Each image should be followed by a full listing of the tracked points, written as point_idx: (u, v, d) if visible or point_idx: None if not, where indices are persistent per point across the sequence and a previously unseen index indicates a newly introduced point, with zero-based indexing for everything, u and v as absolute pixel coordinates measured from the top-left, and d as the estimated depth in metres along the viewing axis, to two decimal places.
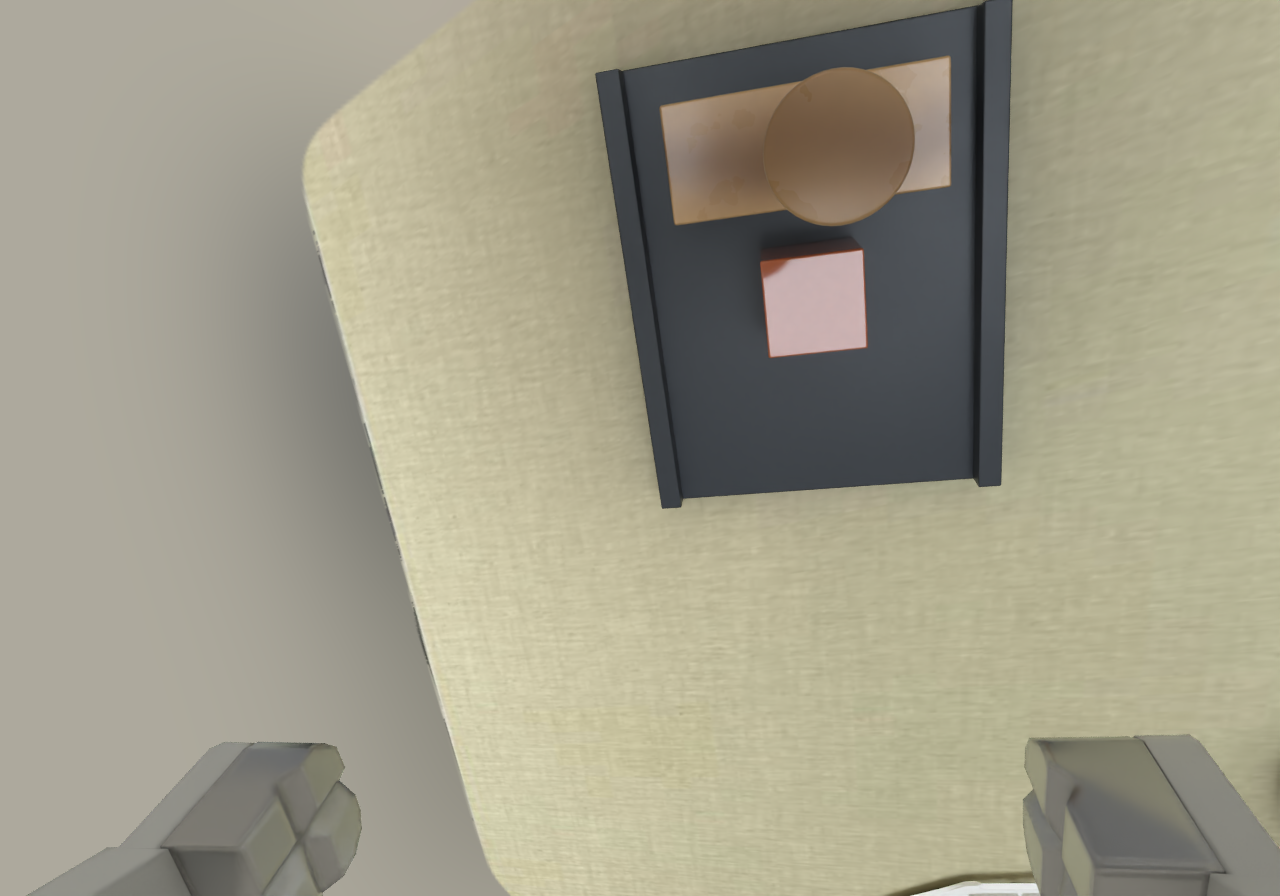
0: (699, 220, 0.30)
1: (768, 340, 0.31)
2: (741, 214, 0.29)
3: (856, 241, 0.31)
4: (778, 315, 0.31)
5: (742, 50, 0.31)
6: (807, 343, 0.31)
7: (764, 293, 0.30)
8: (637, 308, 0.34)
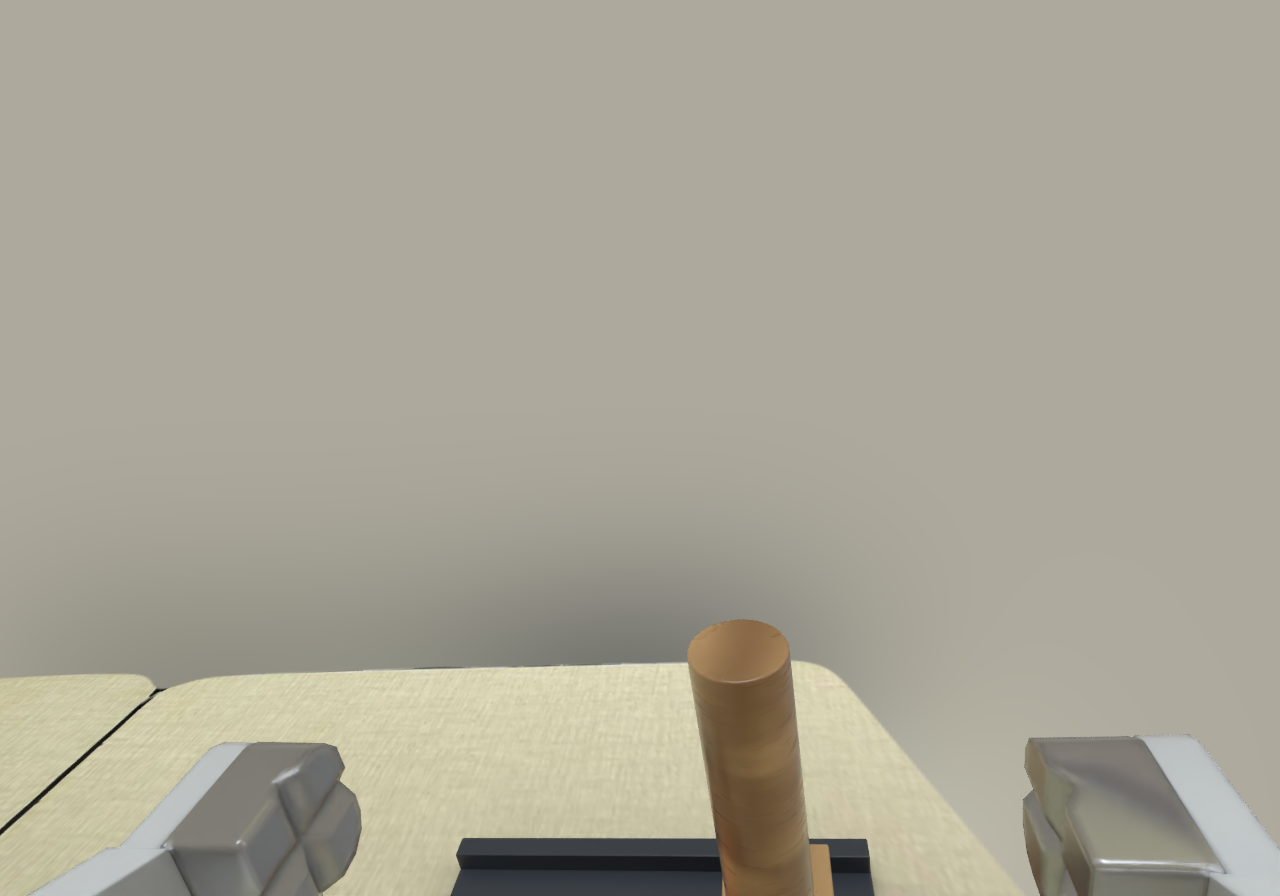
0: None
1: None
2: None
3: None
4: None
5: None
6: None
7: None
8: (657, 843, 0.36)
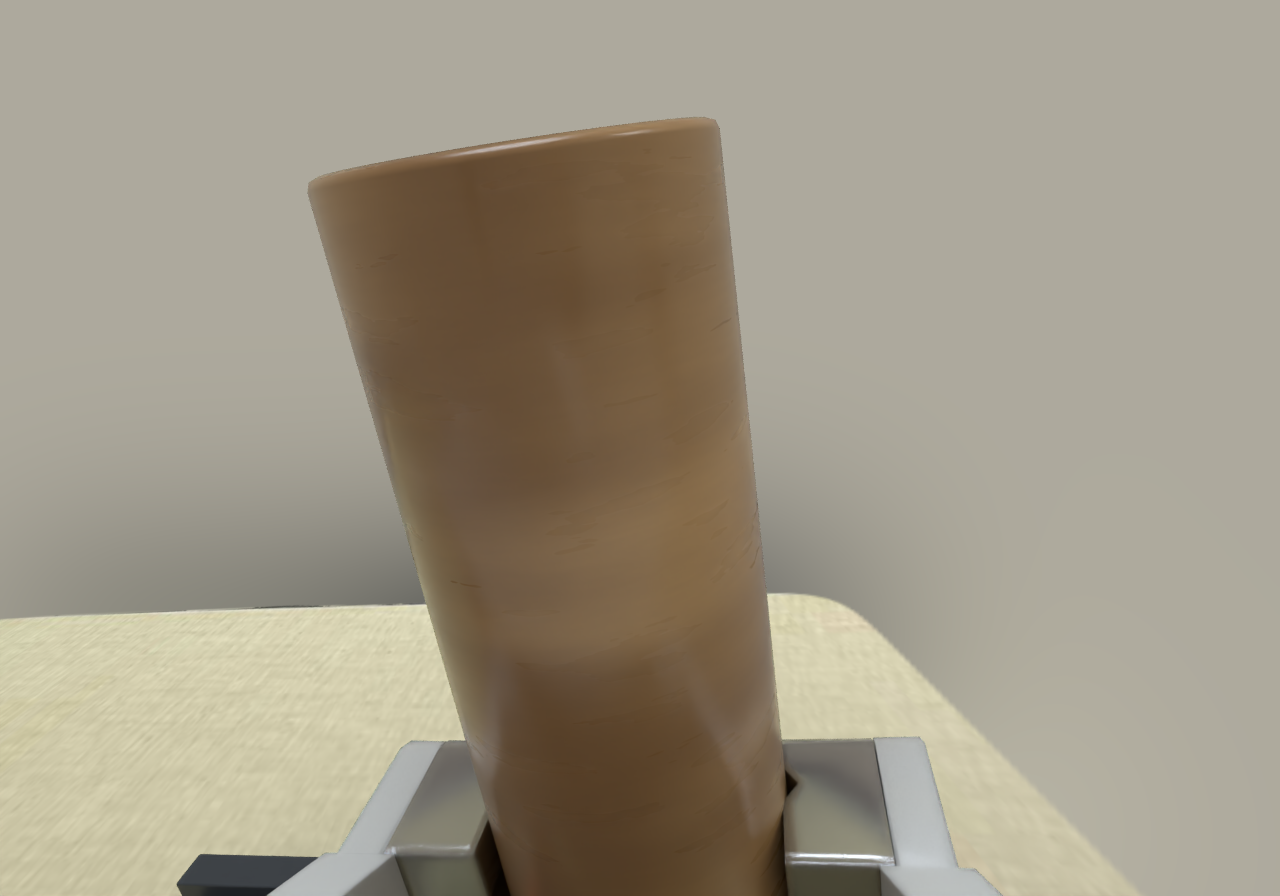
0: None
1: None
2: None
3: None
4: None
5: None
6: None
7: None
8: None
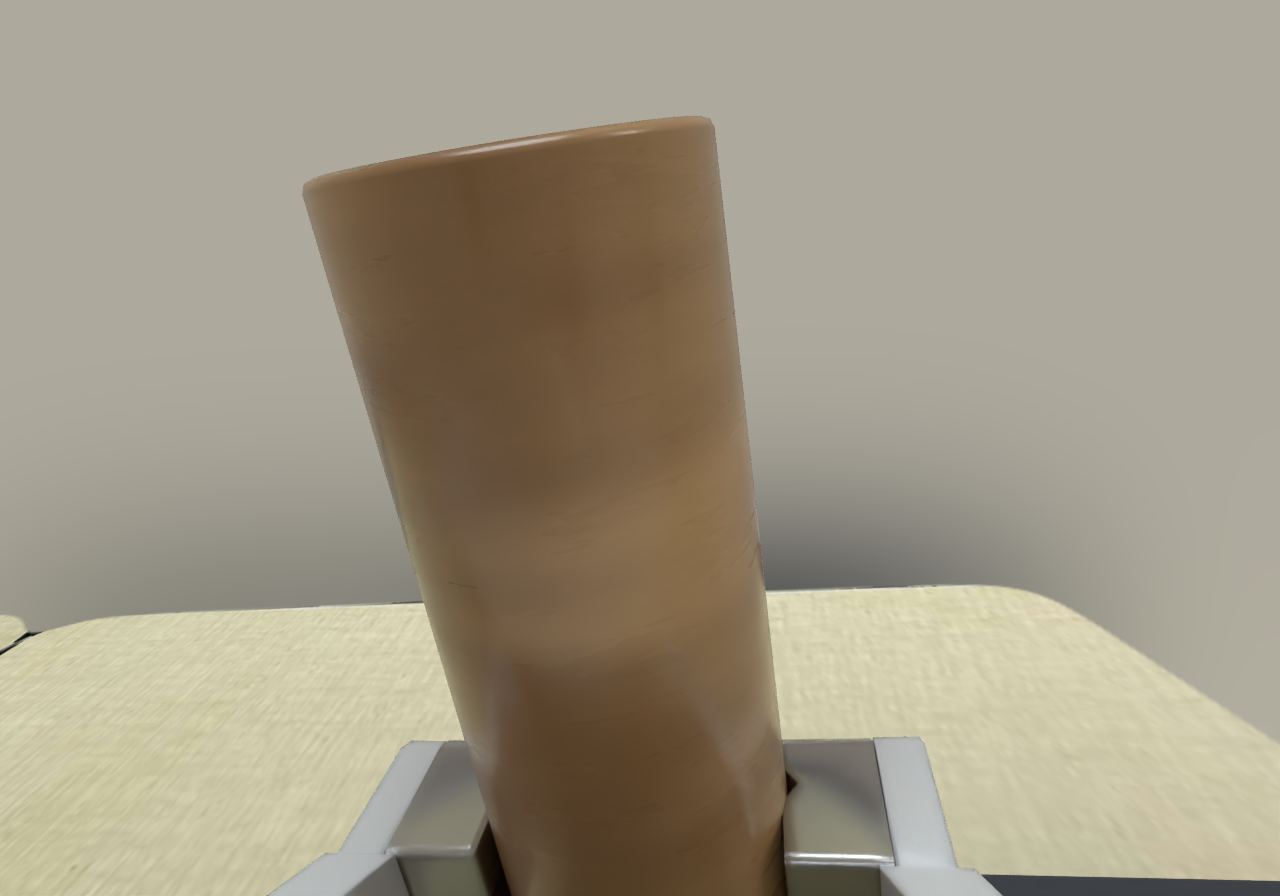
0: None
1: None
2: None
3: None
4: None
5: None
6: None
7: None
8: None
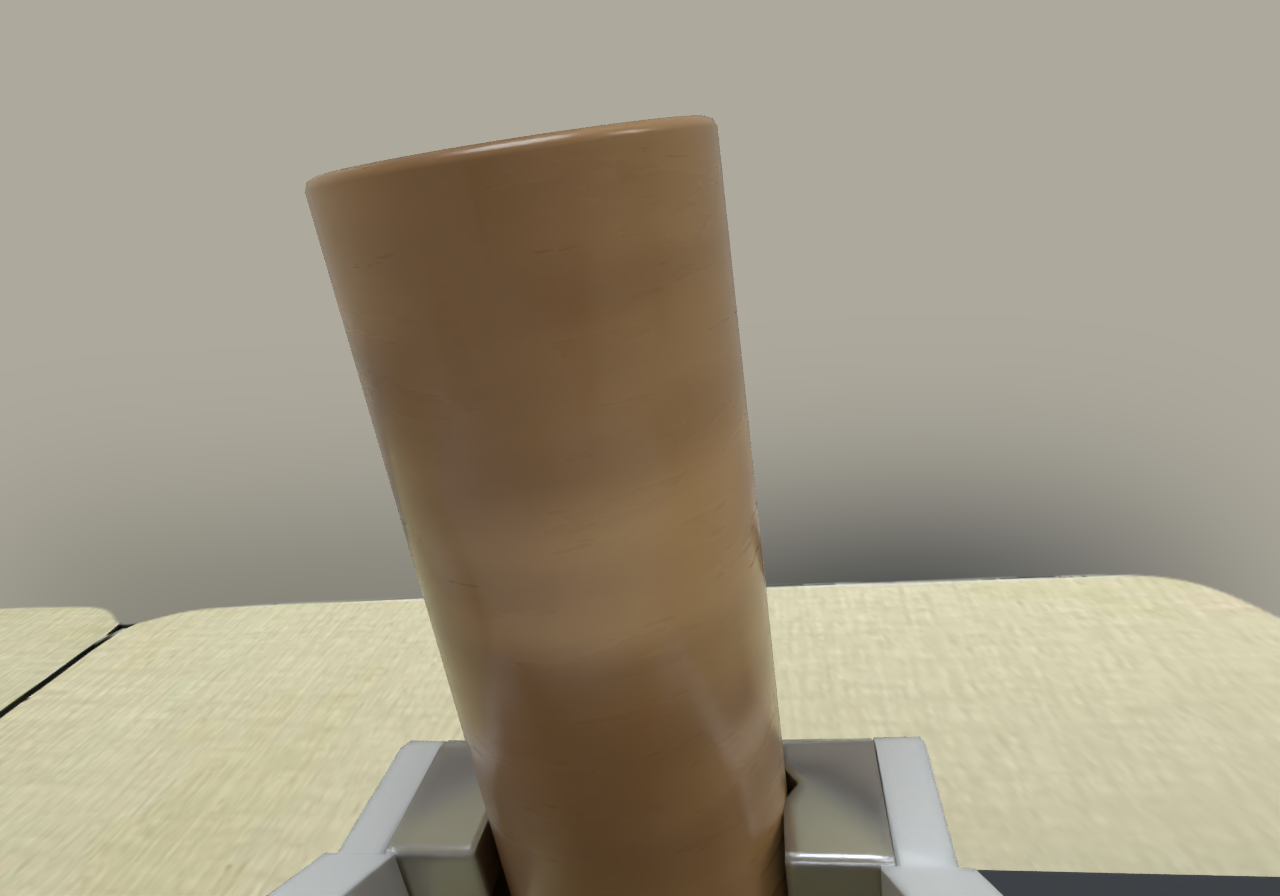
0: None
1: None
2: None
3: None
4: None
5: None
6: None
7: None
8: (1109, 883, 0.17)
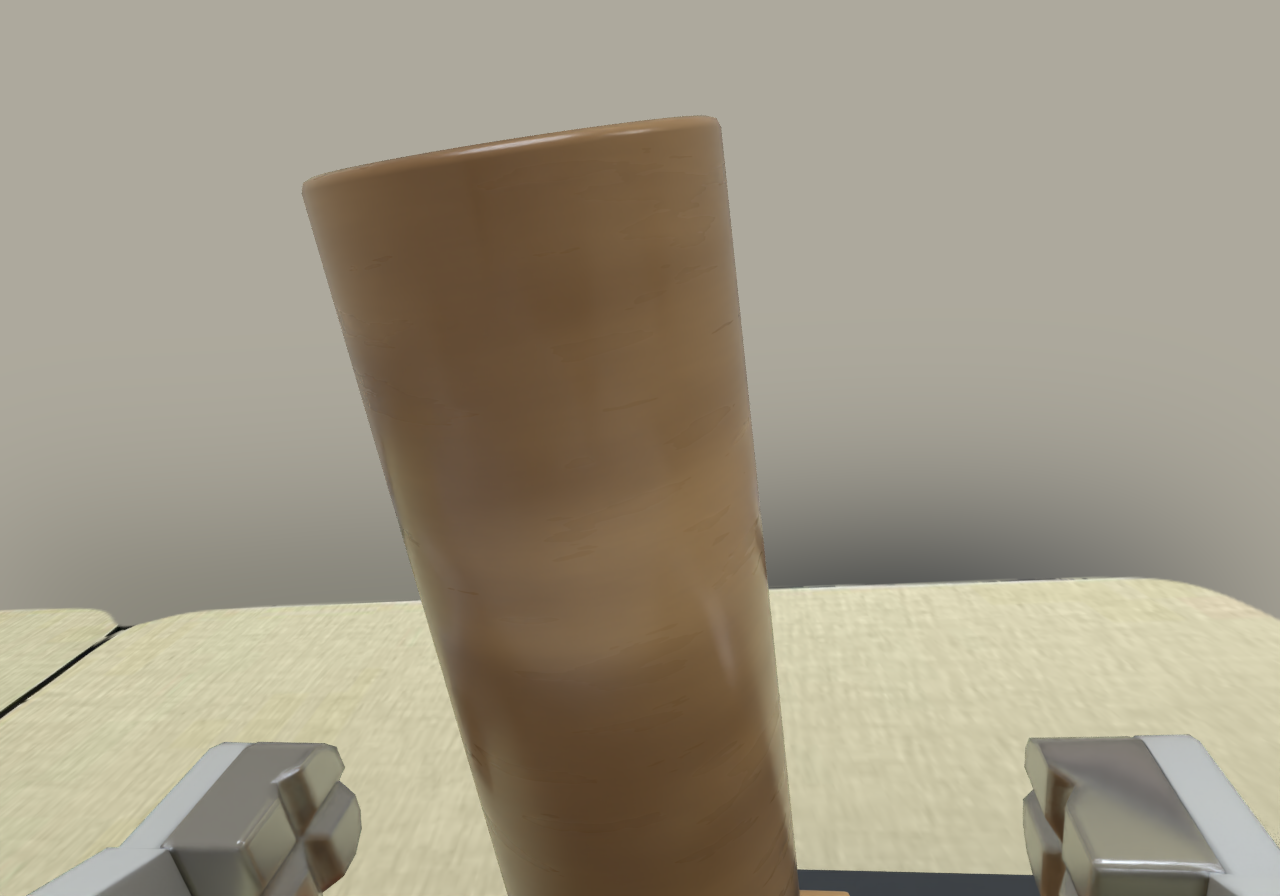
0: None
1: None
2: None
3: None
4: None
5: None
6: None
7: None
8: None
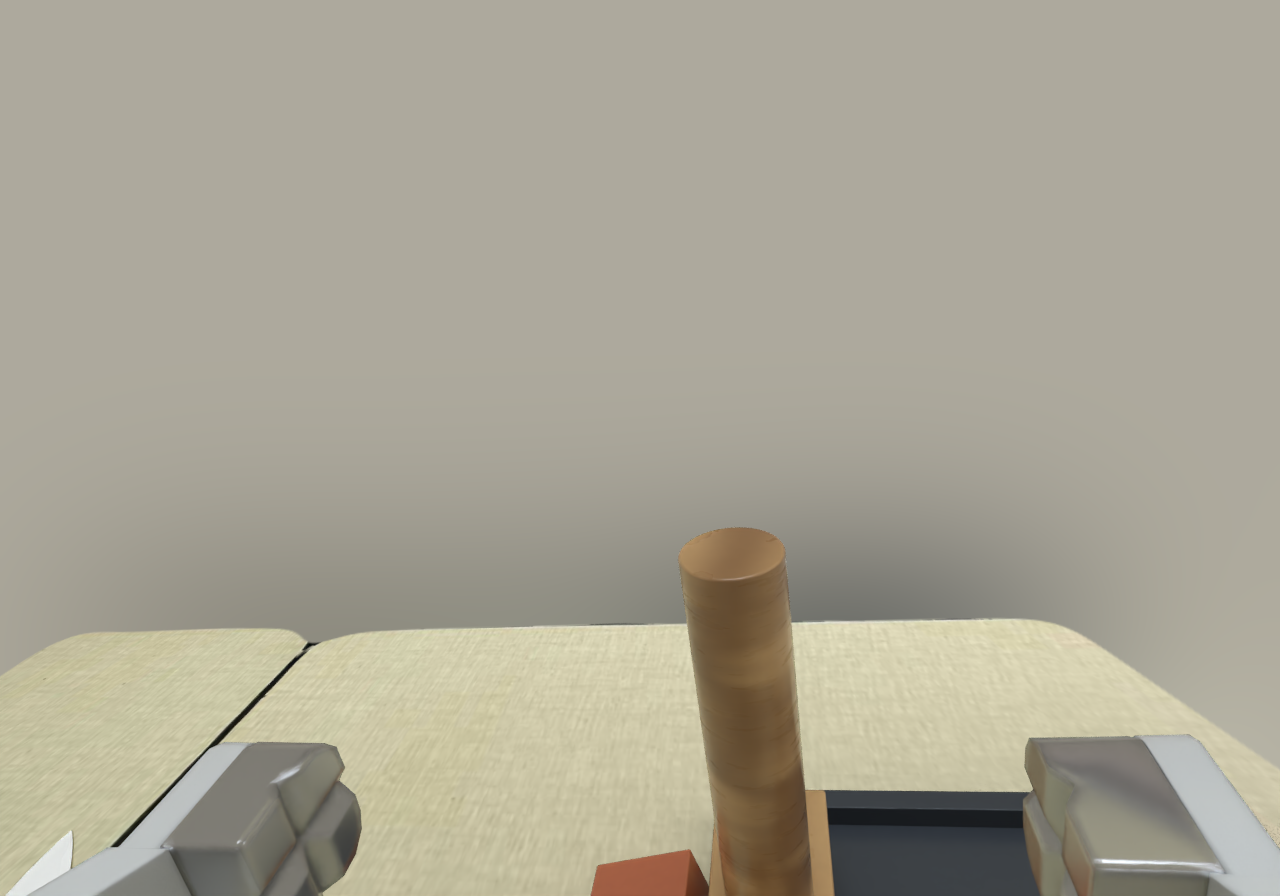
0: None
1: (614, 862, 0.30)
2: (714, 842, 0.29)
3: None
4: (635, 869, 0.29)
5: None
6: None
7: (659, 855, 0.29)
8: (962, 796, 0.33)
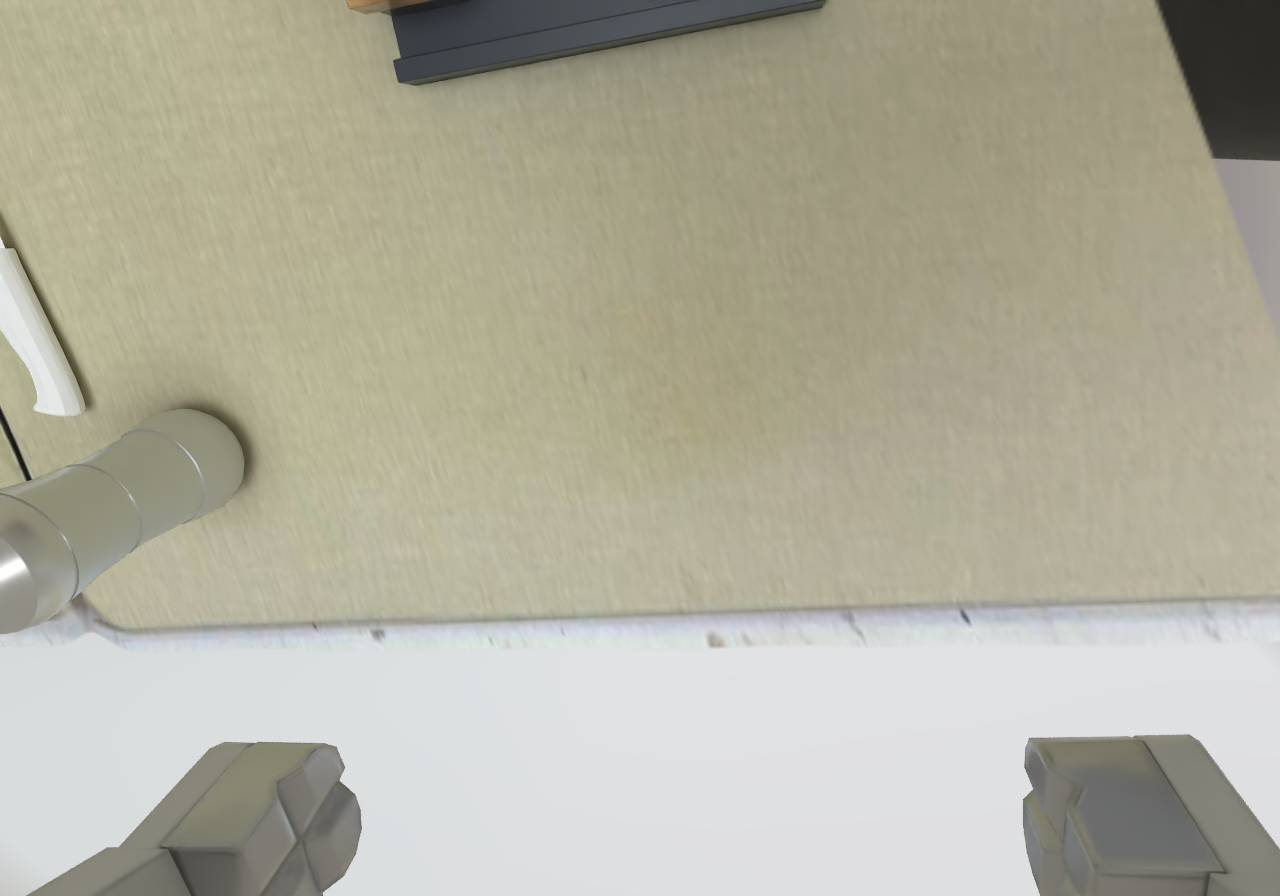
0: None
1: None
2: None
3: None
4: None
5: None
6: None
7: None
8: None
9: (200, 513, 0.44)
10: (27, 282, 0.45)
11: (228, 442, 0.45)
